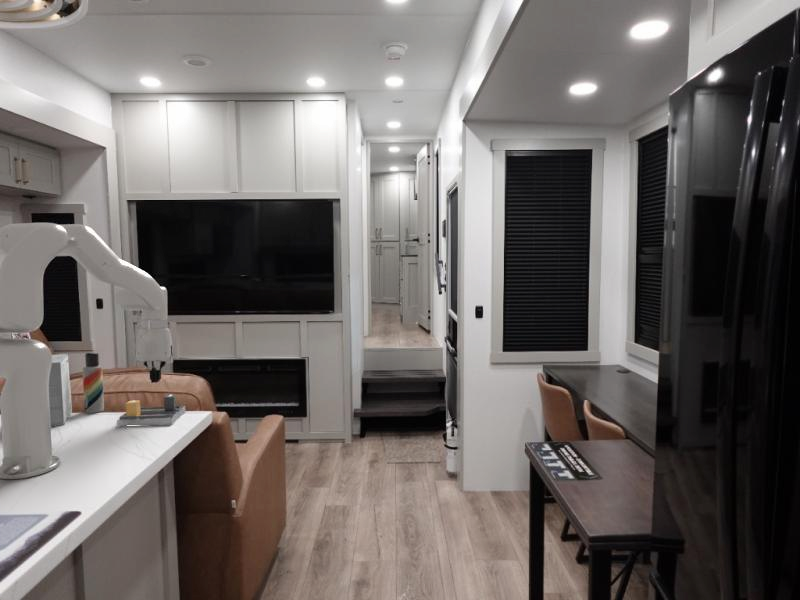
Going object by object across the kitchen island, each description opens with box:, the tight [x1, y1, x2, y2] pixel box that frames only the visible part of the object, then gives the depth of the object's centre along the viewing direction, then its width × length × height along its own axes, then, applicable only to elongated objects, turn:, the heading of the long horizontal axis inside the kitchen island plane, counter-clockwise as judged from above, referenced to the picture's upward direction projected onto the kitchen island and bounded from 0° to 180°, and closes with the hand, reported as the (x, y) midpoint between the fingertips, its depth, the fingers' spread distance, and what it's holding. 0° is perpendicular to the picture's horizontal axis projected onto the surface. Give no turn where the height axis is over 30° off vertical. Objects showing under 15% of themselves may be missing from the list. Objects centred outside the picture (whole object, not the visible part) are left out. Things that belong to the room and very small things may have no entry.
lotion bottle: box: [82, 352, 105, 414], centre depth 174 cm, size 6×6×20 cm
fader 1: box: [125, 399, 141, 416], centre depth 161 cm, size 3×3×5 cm
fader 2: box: [163, 394, 178, 410], centre depth 168 cm, size 3×3×5 cm
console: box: [116, 405, 187, 427], centre depth 165 cm, size 14×16×3 cm
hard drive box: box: [49, 353, 73, 427], centre depth 164 cm, size 16×8×20 cm, turn 25°
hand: (155, 381), depth 167 cm, fingers closed
